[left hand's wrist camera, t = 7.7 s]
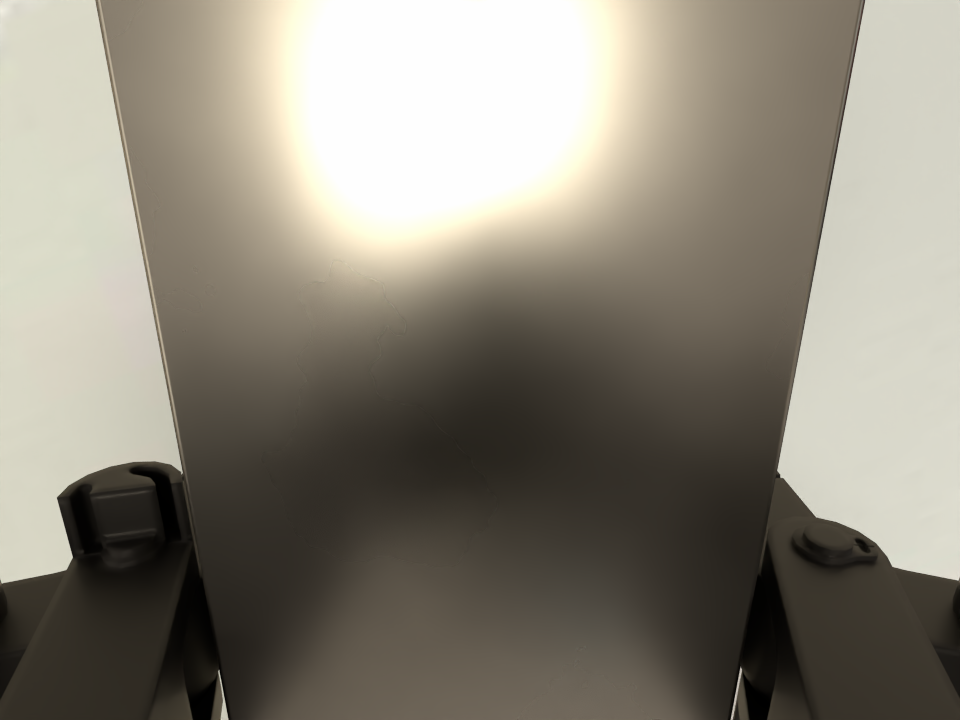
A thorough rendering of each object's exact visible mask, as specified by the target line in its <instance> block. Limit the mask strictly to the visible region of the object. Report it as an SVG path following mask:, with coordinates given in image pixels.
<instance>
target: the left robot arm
mask: <svg viewBox="0 0 960 720" xmlns="http://www.w3.org/2000/svg"><path fill="white" fill-rule="evenodd" d="M57 500H58V503H59V507H60V511H61V514H62V518H63V522H64V526H65V529H66V533H67V537H68V540H69V544H70V548H71V551H72V555H73V559H72V561H71V563H70V565H69V567H68V569H67V570H65V571H62V572H58V573H54V574H48V575H43V576H38V577H33V578H28V579H23V580H18V581H13V582H8V583H3V584H2V583H1V580H0V720H220V718H221V711H222V703H223V698H222V690H221V684H220V679H219V673H218V671H219V665H218V660H217V654H216V649H215V643H214V638H213V633H212V627H211V622H210V616H209V611H208V606H207V600H206V595H205V589H204V584H203V578H202V573H201V568H200V562H199V557H198V551H197V546H196V541H195V535H194V530H193V524H192V519H191V514H190V508H189V503H188V497H187V492H186V487H185V481H184V476H183V474H182V475H181V472H180V471H179V470H177V469H176V468H175V467H173V466H172V465H169V464H164V463H160V462H132V463H127V464H122V465H117V466H111V467H108V468H105V469H103V470H100V471H97V472H94V473H91V474H89V475H87V476H85V477H83V478H81V479H80V480H78V481H76V482H74V483H73V484H71V485H69V486H68V487H67V488H66V489H65V490H64V491H63V492H62V493H61V494H60V495H59V496H58V497H57ZM741 668H742V673H741V679H740V684H739V689H738V695H737V700H736V705H735V711H734V716H733V720H960V578H959V581H957V580H952V579H947V578H942V577H937V576H932V575H927V574H921V573H916V572H911V571H906V570H902V569H898V568H894V567H892V565H891V563H890V561H889V560H888V558H887V556H886V555H885V554H884V552H883V551H882V550H881V549H880V548H879V546H878V545H877V544H876V543H875V542H873V541H872V540H870V539H869V538H867V537H866V536H864V535H863V534H861V533H860V532H858V531H856V530H854V529H852V528H849V527H847V526H844V525H842V524H840V523H837V522H833V521H829V520H825V519H820V518H816V517H815V516H814V515H813V513H812V512H811V511H810V510H809V509H808V507H807V506H806V505H805V504H804V503H803V501H802V500H801V499H800V498H799V497H798V495H797V494H796V493H795V492H794V491H793V489H792V488H791V487H790V486H789V485H788V483H787V482H786V481H785V480H784V479H783V478H780V474H779V473H778V471H777V474H776V479H775V484H774V490H773V495H772V500H771V506H770V511H769V517H768V522H767V527H766V533H765V538H764V543H763V549H762V554H761V559H760V565H759V570H758V575H757V581H756V586H755V591H754V597H753V602H752V607H751V613H750V618H749V623H748V629H747V634H746V639H745V645H744V650H743V655H742V661H741Z"/></svg>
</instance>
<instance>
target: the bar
mask: <svg viewBox="0 0 960 720" xmlns="http://www.w3.org/2000/svg"><path fill="white" fill-rule="evenodd" d="M864 3H865V0H96V6H97V11H98V16H99V22H100V27H101V33H102V38H103V43H104V49H105V54H106V60H107V65H108V70H109V76H110V81H111V87H112V92H113V97H114V103H115V108H116V114H117V119H118V124H119V130H120V135H121V141H122V146H123V152H124V157H125V162H126V168H127V173H128V179H129V184H130V189H131V195H132V200H133V206H134V211H135V216H136V222H137V227H138V233H139V238H140V243H141V249H142V254H143V260H144V265H145V270H146V276H147V281H148V287H149V292H150V297H151V303H152V308H153V314H154V319H155V324H156V330H157V335H158V341H159V346H160V351H161V357H162V362H163V368H164V373H165V379H166V384H167V389H168V395H169V400H170V406H171V411H172V416H173V422H174V427H175V433H176V438H177V443H178V449H179V454H180V460H181V465H182V470H183V476H184V481H185V487H186V492H187V497H188V503H189V508H190V514H191V519H192V524H193V530H194V535H195V541H196V546H197V551H198V557H199V562H200V568H201V573H202V578H203V584H204V589H205V595H206V600H207V606H208V611H209V616H210V622H211V627H212V633H213V638H214V643H215V649H216V654H217V660H218V665H219V670H220V676H221V681H222V687H223V692H224V697H225V703H226V708H227V714H228V719H229V720H731V714H732V709H733V704H734V698H735V693H736V688H737V682H738V677H739V671H740V666H741V661H742V655H743V650H744V645H745V639H746V634H747V629H748V623H749V618H750V613H751V607H752V602H753V597H754V591H755V586H756V581H757V575H758V570H759V565H760V559H761V554H762V549H763V543H764V538H765V533H766V527H767V522H768V517H769V511H770V506H771V500H772V495H773V490H774V484H775V479H776V474H777V468H778V463H779V458H780V452H781V447H782V442H783V436H784V431H785V426H786V420H787V415H788V410H789V404H790V399H791V394H792V388H793V383H794V378H795V372H796V367H797V362H798V356H799V351H800V346H801V340H802V335H803V329H804V324H805V319H806V313H807V308H808V303H809V297H810V292H811V287H812V281H813V276H814V271H815V265H816V260H817V255H818V249H819V244H820V239H821V233H822V228H823V223H824V217H825V212H826V207H827V201H828V196H829V191H830V185H831V180H832V175H833V169H834V164H835V158H836V153H837V148H838V142H839V137H840V132H841V126H842V121H843V116H844V110H845V105H846V100H847V94H848V89H849V84H850V78H851V73H852V68H853V62H854V57H855V52H856V46H857V41H858V36H859V30H860V25H861V20H862V14H863V9H864Z"/></svg>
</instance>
